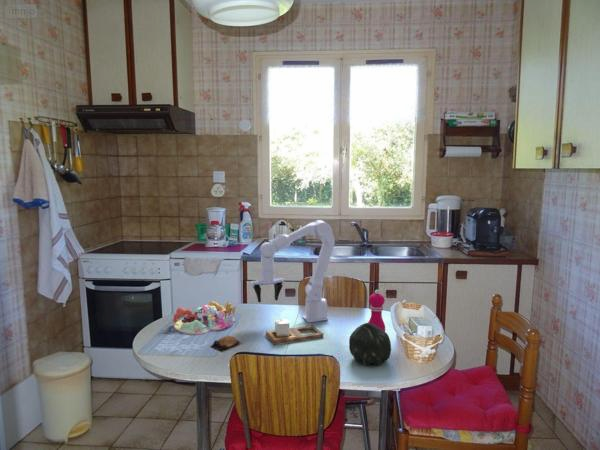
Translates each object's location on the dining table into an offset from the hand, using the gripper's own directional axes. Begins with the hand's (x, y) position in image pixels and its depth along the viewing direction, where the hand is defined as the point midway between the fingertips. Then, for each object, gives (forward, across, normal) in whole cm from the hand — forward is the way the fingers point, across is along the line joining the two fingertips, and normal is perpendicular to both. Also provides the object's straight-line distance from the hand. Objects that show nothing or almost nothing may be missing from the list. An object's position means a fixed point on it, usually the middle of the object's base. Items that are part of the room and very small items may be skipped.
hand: (267, 300), depth 188 cm
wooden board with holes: (+9, -5, +20) cm, 23 cm away
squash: (+10, -22, +50) cm, 55 cm away
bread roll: (+10, +22, +18) cm, 31 cm away
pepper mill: (+10, -34, +34) cm, 49 cm away
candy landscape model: (+10, +26, -7) cm, 29 cm away
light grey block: (+10, 0, +20) cm, 22 cm away
